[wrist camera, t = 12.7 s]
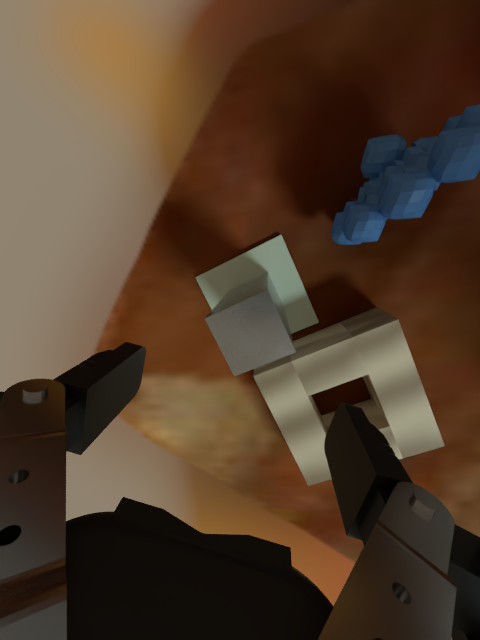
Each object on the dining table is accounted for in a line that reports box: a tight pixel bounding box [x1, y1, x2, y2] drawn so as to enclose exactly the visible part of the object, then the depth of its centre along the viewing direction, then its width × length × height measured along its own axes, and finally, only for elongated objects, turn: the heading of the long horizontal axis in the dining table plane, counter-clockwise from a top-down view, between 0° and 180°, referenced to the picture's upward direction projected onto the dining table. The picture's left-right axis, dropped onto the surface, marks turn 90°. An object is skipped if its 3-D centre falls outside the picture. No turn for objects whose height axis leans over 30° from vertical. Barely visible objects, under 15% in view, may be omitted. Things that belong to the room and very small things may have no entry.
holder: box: [253, 307, 444, 486], centre depth 29 cm, size 14×14×5 cm
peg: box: [205, 272, 296, 376], centre depth 24 cm, size 4×4×12 cm
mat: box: [195, 235, 319, 334], centre depth 30 cm, size 10×10×1 cm
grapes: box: [331, 104, 480, 245], centre depth 20 cm, size 12×7×12 cm, turn 132°
